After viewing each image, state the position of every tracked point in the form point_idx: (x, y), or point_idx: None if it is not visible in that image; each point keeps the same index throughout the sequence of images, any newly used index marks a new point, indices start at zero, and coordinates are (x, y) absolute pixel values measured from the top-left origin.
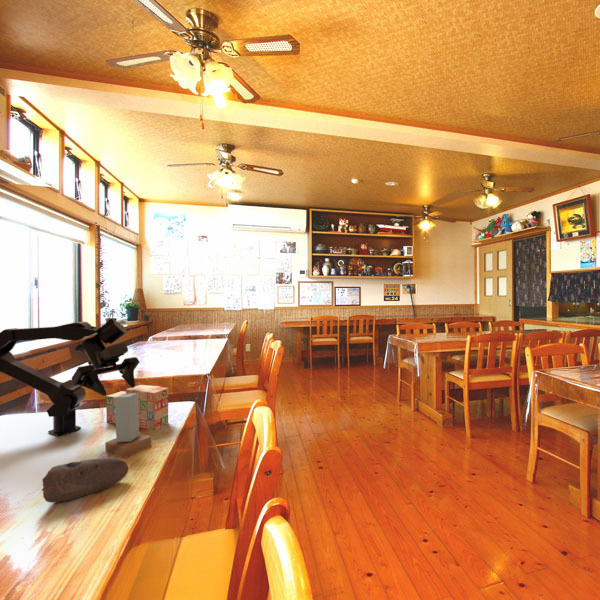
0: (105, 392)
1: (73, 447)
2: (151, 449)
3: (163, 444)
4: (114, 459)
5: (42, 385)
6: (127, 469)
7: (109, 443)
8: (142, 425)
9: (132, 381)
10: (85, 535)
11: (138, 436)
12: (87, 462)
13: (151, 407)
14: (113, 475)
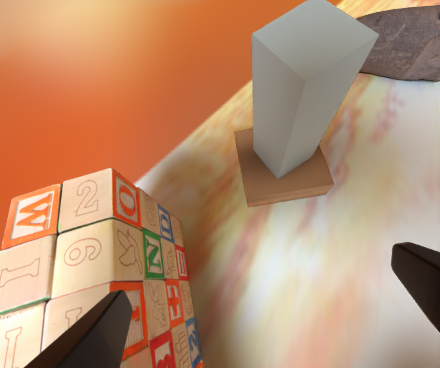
0: (411, 248)
1: (402, 318)
2: (246, 127)
3: (218, 129)
4: (366, 15)
5: None
6: None
7: (326, 168)
8: (184, 268)
9: (89, 326)
10: (398, 3)
11: (254, 153)
12: (425, 7)
13: (151, 210)
14: None
